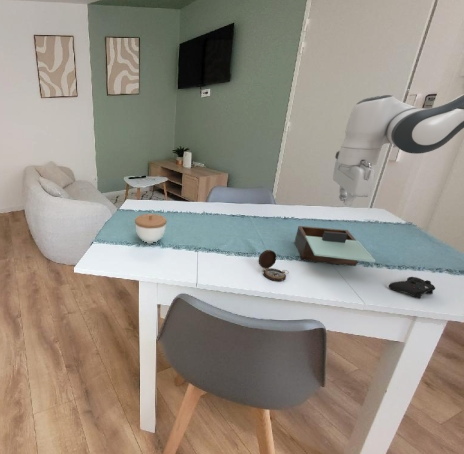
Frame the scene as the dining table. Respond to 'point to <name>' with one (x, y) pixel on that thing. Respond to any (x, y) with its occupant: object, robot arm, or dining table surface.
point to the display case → (307, 252)
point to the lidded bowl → (150, 227)
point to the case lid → (338, 247)
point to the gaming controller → (413, 286)
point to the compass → (266, 262)
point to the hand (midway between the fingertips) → (344, 202)
